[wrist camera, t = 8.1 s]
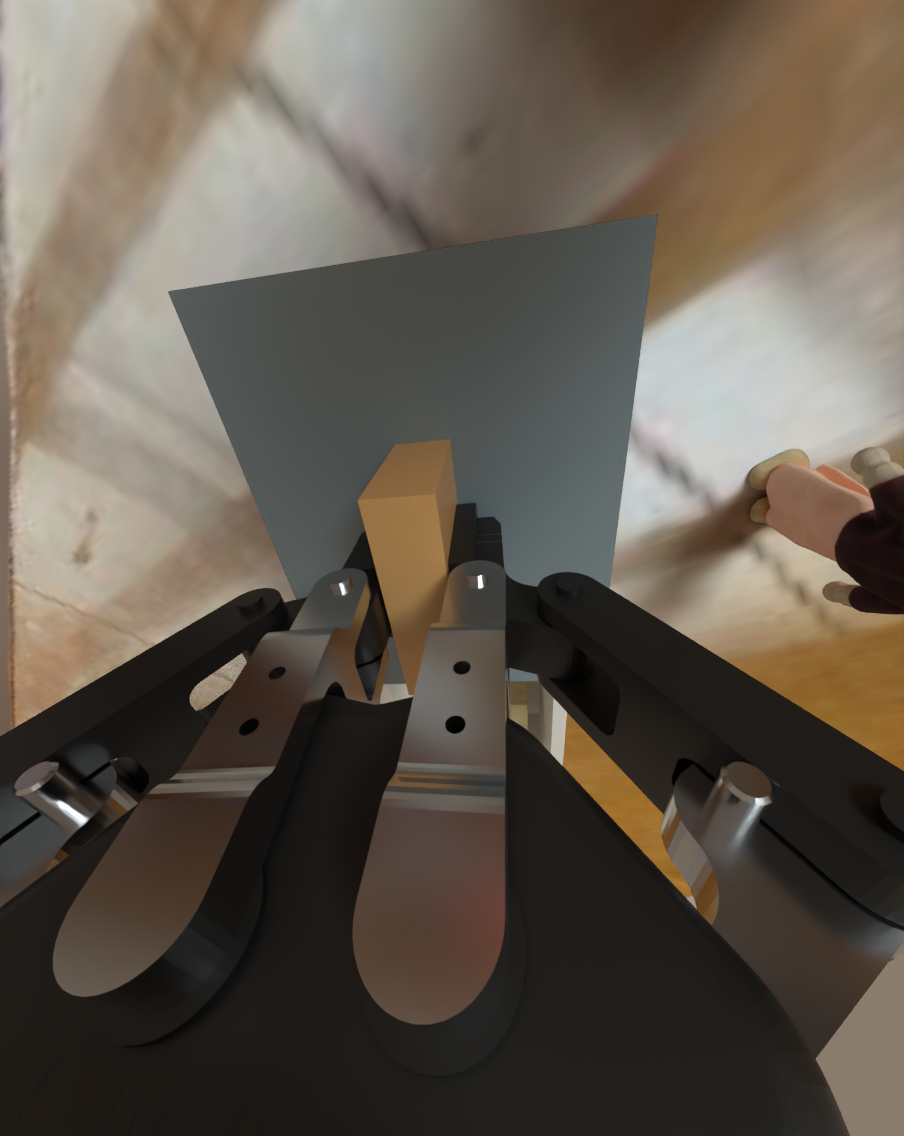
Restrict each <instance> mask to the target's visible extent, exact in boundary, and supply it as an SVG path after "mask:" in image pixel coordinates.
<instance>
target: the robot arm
mask: <svg viewBox="0 0 904 1136" xmlns="http://www.w3.org/2000/svg"><path fill="white" fill-rule="evenodd" d="M448 569H449V578H448V583H447V588H446V593H445V597H444V602H443V607H442V612H441V617H440V622H439V623H432V624H431V625H430V628H429V632H428V636H427V640H426V645H425V649H424V653H423V658H422V662H421V666H420V671H419V675H418V679H417V683H416V688H415V692H414V696H413V697H409V698H405V699H401V700H397V701H392V702H388V703H384V704H379V702H380V697H381V693H382V688H383V684H384V679H385V674H386V670H387V665H388V661H389V651H388V648H387V643H388V640H389V637H393V633H392V629H391V625H390V622H389V618H388V614H387V610H386V606H385V603H384V599H383V595H382V591H381V587H380V584H379V580H378V576H377V572H376V569H375V565H374V561H373V557H372V553H371V550H370V546H369V542H368V538H367V534H366V531H364V532H363V533H362V534H361V535H360V537H359V539H358V541H357V544H355V546H354V548H353V552H351V553H350V555H349V557H348V559H347V561H346V563H345V564H344V566H343V568H342V569H341V570H337V571H333V572H331V573H329V574H327V575H325V576H323V577H322V578H320V579H319V580H318V581H317V582H316V583H315V585H314V586H313V588H312V590H311V592H310V594H309V595H308V597H305V598H301V599H297V600H293V601H289V602H285V603H284V601H283V599H282V597H281V594H280V593H279V591H277V590H275V589H271V588H262V589H256V590H253V591H250V592H247V593H244V594H242V595H240V596H238V597H237V598H235V599H233V600H231V601H230V602H228V603H226V604H225V605H223V606H221V607H220V608H218V609H216V610H214V611H213V612H211V613H209V614H208V615H206V616H204V617H203V618H201V619H199V620H197V621H196V622H194V623H192V624H191V625H189V626H187V627H186V628H184V629H182V630H180V631H179V632H177V633H175V634H174V635H172V636H170V637H169V638H167V639H165V640H163V641H162V642H160V643H158V644H157V645H155V646H153V647H152V648H150V649H148V650H146V651H145V652H143V653H141V654H140V655H138V656H136V657H135V658H133V659H131V660H129V661H128V662H126V663H124V664H123V665H121V666H119V667H117V668H116V669H114V670H112V671H111V672H109V673H107V674H106V675H104V676H102V677H100V678H99V679H97V680H95V681H94V682H92V683H90V684H89V685H87V686H85V687H83V688H82V689H80V690H78V691H77V692H75V693H73V694H72V695H70V696H68V697H66V698H65V699H63V700H61V701H60V702H58V703H56V704H55V705H53V706H51V707H49V708H48V709H46V710H44V711H43V712H41V713H39V714H38V715H36V716H34V717H32V718H31V719H29V720H27V721H26V722H24V723H22V724H21V725H19V726H17V727H15V728H14V729H12V730H10V731H9V732H7V733H5V734H4V735H2V736H0V1136H850V1135H849V1132H848V1130H847V1127H846V1125H845V1122H844V1120H843V1117H842V1115H841V1112H840V1110H839V1107H838V1105H837V1103H836V1100H835V1098H834V1096H833V1093H832V1091H831V1089H830V1087H829V1085H828V1083H827V1081H826V1078H825V1077H824V1074H823V1072H822V1070H821V1068H820V1066H819V1065H818V1063H817V1061H816V1057H817V1056H818V1055H819V1053H820V1052H821V1051H822V1049H823V1048H824V1047H825V1045H826V1044H827V1043H828V1042H829V1040H830V1039H831V1037H832V1036H833V1035H834V1034H835V1032H836V1031H837V1030H838V1028H839V1027H840V1026H841V1024H842V1023H843V1021H844V1020H845V1019H846V1018H847V1016H848V1015H849V1014H850V1012H851V1011H852V1010H853V1008H854V1007H855V1006H856V1004H857V1003H858V1002H859V1000H860V999H861V998H862V996H863V995H864V994H865V992H866V991H867V990H868V988H869V987H870V986H871V984H872V983H873V982H874V981H875V979H876V978H877V977H878V975H879V974H880V972H881V971H882V970H883V969H884V967H885V966H886V965H887V963H888V962H889V961H891V960H893V959H894V958H896V957H898V956H900V955H901V954H903V953H904V771H903V770H901V769H899V768H898V767H896V766H894V765H893V764H891V763H890V762H888V761H886V760H885V759H883V758H882V757H880V756H878V755H877V754H875V753H874V752H872V751H870V750H869V749H867V748H865V747H864V746H862V745H861V744H859V743H857V742H856V741H854V740H853V739H851V738H849V737H848V736H846V735H844V734H843V733H841V732H840V731H838V730H836V729H835V728H833V727H832V726H830V725H828V724H827V723H825V722H824V721H822V720H820V719H819V718H817V717H815V716H814V715H812V714H811V713H809V712H807V711H806V710H804V709H803V708H801V707H799V706H798V705H796V704H795V703H793V702H791V701H790V700H788V699H786V698H785V697H783V696H782V695H780V694H778V693H777V692H775V691H774V690H772V689H770V688H769V687H767V686H766V685H764V684H762V683H761V682H759V681H757V680H756V679H754V678H753V677H751V676H749V675H748V674H746V673H745V672H743V671H741V670H740V669H738V668H736V667H735V666H733V665H732V664H730V663H728V662H727V661H725V660H724V659H722V658H720V657H719V656H717V655H716V654H714V653H712V652H711V651H709V650H707V649H706V648H704V647H703V646H701V645H699V644H698V643H696V642H695V641H693V640H691V639H690V638H688V637H687V636H685V635H683V634H682V633H680V632H678V631H677V630H675V629H674V628H672V627H670V626H669V625H667V624H666V623H664V622H662V621H661V620H659V619H658V618H656V617H654V616H653V615H651V614H649V613H648V612H646V611H645V610H643V609H641V608H640V607H638V606H637V605H635V604H633V603H632V602H630V601H629V600H627V599H625V598H624V597H622V596H620V595H619V594H617V593H616V592H614V591H612V590H611V589H609V588H608V587H606V586H604V585H603V584H601V583H599V582H598V581H596V580H595V579H593V578H591V577H589V576H587V575H584V574H580V573H575V572H559V573H554V574H551V575H549V576H547V577H545V578H543V579H542V580H541V581H540V582H539V584H538V587H537V586H530V585H525V584H522V583H519V582H516V581H515V580H513V579H511V578H510V577H509V576H508V575H507V574H506V572H505V569H504V557H503V545H502V533H501V523H500V522H499V521H497V520H496V519H495V518H494V517H481V518H478V515H477V505H476V503H466V504H456V510H455V517H454V524H453V531H452V537H451V544H450V551H449V558H448ZM241 653H242V654H243V655H244V657H245V659H246V661H247V663H246V665H245V666H244V668H243V670H242V671H241V673H240V674H239V676H238V678H237V679H236V681H235V682H234V684H233V686H232V687H231V689H229V690H228V691H227V692H225V693H224V694H223V695H221V696H220V697H219V698H217V699H216V700H215V701H213V702H212V703H210V704H209V705H208V706H206V707H205V708H203V709H201V710H198V711H195V710H194V708H193V707H192V706H191V704H190V701H189V698H190V694H191V692H192V690H193V688H194V687H195V686H196V685H197V684H198V683H199V682H201V681H202V680H204V679H205V678H207V677H208V676H209V675H211V674H212V673H214V672H215V671H217V670H218V669H220V668H221V667H222V666H224V665H225V664H227V663H228V662H230V661H231V660H232V659H234V658H235V657H237V656H238V655H240V654H241ZM510 668H512V669H516V670H520V671H524V672H529V673H533V674H537V677H538V680H539V682H540V684H541V685H542V686H543V687H544V689H545V690H546V691H547V692H548V693H549V694H550V695H551V696H552V697H553V698H554V699H555V700H556V701H557V702H558V703H559V704H560V705H561V706H562V708H563V709H564V710H565V711H566V712H567V713H568V714H569V715H570V716H571V717H572V718H573V719H574V720H575V721H576V722H577V723H578V724H579V725H580V727H581V728H582V729H583V730H584V731H585V732H586V733H587V734H588V735H589V736H590V737H591V738H592V739H593V740H594V741H595V742H596V743H597V744H598V746H599V747H600V748H601V749H602V750H603V751H604V752H605V753H606V754H607V755H608V756H609V757H610V758H611V759H612V760H613V761H614V762H615V763H616V764H617V766H618V767H619V768H620V769H621V770H622V771H623V772H624V773H625V774H626V775H627V776H628V777H629V778H630V779H631V780H632V781H633V782H634V783H635V785H636V786H637V787H638V788H639V789H640V790H641V791H642V792H643V793H644V794H645V795H646V796H647V797H648V798H649V799H650V800H651V801H652V802H653V804H654V805H655V806H656V807H657V808H658V809H659V810H660V811H661V812H662V813H663V814H664V816H663V819H662V824H661V832H662V839H663V843H664V846H665V848H666V851H667V853H668V855H669V857H670V858H671V860H672V862H673V863H674V865H675V866H676V867H677V869H678V870H679V872H680V873H681V874H682V876H683V877H684V879H685V880H686V882H687V884H688V886H689V888H690V890H691V892H692V895H693V897H694V899H695V903H696V906H697V909H696V908H695V907H694V906H693V905H692V904H691V903H690V902H689V901H688V900H687V899H686V898H685V897H684V895H683V894H682V893H681V892H680V891H679V890H678V889H677V888H676V887H675V886H674V885H673V884H672V883H671V882H670V880H669V879H668V878H667V877H666V876H665V875H664V874H663V873H662V872H661V871H660V870H659V869H658V868H657V867H656V865H655V864H654V863H653V862H652V861H651V860H650V859H649V858H648V857H647V856H646V855H645V854H644V853H643V852H642V850H641V849H640V848H639V847H638V846H637V845H636V844H635V843H634V842H633V841H632V840H631V839H630V838H629V837H628V835H627V834H626V833H625V832H624V831H623V830H622V829H621V828H620V827H619V826H618V825H617V824H616V823H615V822H614V820H613V819H612V818H611V817H610V816H609V815H608V814H607V813H606V812H605V811H604V810H603V809H602V808H601V807H600V805H599V804H598V803H597V802H596V801H595V800H594V799H593V798H592V797H591V796H590V795H589V794H588V793H587V792H586V790H585V789H584V788H583V787H582V786H581V785H580V784H579V783H578V782H577V781H576V780H575V779H574V778H573V777H572V775H571V774H570V773H569V772H568V771H567V770H566V769H565V768H564V767H563V766H562V765H561V764H560V763H559V762H558V760H557V759H556V758H555V757H554V756H553V755H552V754H551V753H550V752H549V751H548V750H547V749H546V748H545V747H544V745H543V744H542V743H541V742H540V741H539V740H538V739H537V738H536V737H535V736H534V735H533V734H531V733H530V732H529V731H528V730H526V729H525V728H524V727H523V726H521V725H519V724H518V723H516V722H515V721H513V720H512V719H511V711H510ZM116 758H118V759H117V760H116V761H115V760H114V759H116Z"/></svg>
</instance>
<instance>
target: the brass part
mask: <svg viewBox="0 0 904 1136" xmlns="http://www.w3.org/2000/svg"><path fill="white" fill-rule="evenodd" d="M510 711H511V719H512V720H513V721H515V722H516V723H518V724H519V725H521V726H523V727H524V728H525V729H526V730H528V705H527V695H526V686H525V681H512V682H510Z"/></svg>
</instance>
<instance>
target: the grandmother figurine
mask: <svg viewBox="0 0 904 1136" xmlns="http://www.w3.org/2000/svg"><path fill="white" fill-rule="evenodd" d="M850 465H851V468H852V469H853V471H854V472H856V473H857V474H859V475H862V476H863V482H864V484H865V485H866V486H867V487H868V488H869V491H868V490H867V489H866V488H865V487H863V486H862V485H861V484H859V483H858V482H856V481H855V480H853V479H852V478H850V477H849V476H847V475H846V474H844V473H843V472H841V471H839V470H838V469H836V468H834V467H832V466H830V465H827V464H824V465H822V466H820V467H818V468H817V469H816V470H813V469H810V462H809V458H808V456H807V455H806V453H805V452H803V451H802V450H799V449H791V450H787V451H785V452H782V453H780V454H778V455H776V456H774V457H772V458H770V459H768V460H766V461H764V462H762V463H760V464H758V465H757V466H755V467H754V468H753V469H752V471H751V472H750V474H749V484H750V486H751V488H753V489H755V490H766V492H767V497H763V498H761V499H759V500H757V501H756V502H755V503H754V504H753V506H752V508H751V511H750V518H751V519H752V520H753V521H755V522H760V523H767V525H768V526H770V527H772V528H773V529H775V530H776V531H778V532H779V533H781V534H782V535H784V536H785V537H787V538H788V539H790V540H791V541H792V542H794V543H795V544H797V545H799V546H801V547H804V548H807V549H809V550H812V551H814V552H816V553H818V554H820V555H822V556H824V557H827V558H829V559H831V560H834V561H836V562H837V563H838V565H839V567H840V568H841V569H842V570H843V571H845V572H846V573H848V574H849V575H850V576H851V577H852V578H853V579H854V580H855V581H856V582H857V583H859V584H860V585H861V586H859V585H848V584H846V583H844V582H839V581H836V582H830V583H828V584H826V585H825V586H824V588H823V591H822V592H823V595H824V597H825V598H826V599H827V600H829V601H832V602H837V603H841V604H843V605H846V606H849V607H853V608H855V609H856V610H859V611H861V612H866V613H880V614H904V469H903V468H902V467H901V466H900V465H899V464H897V463H894V462H891V460H890V456H889V454H888V452H887V451H886V450H885V449H882V448H878V447H870V448H866V449H864V450H861V451H859V452H858V453H857V454H855V455H854V457H853V458H852V460H851V464H850Z"/></svg>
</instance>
